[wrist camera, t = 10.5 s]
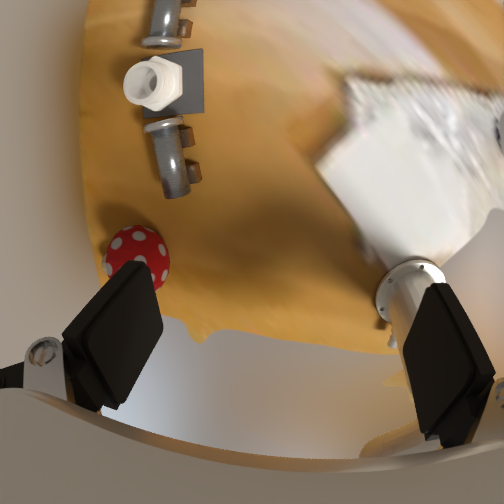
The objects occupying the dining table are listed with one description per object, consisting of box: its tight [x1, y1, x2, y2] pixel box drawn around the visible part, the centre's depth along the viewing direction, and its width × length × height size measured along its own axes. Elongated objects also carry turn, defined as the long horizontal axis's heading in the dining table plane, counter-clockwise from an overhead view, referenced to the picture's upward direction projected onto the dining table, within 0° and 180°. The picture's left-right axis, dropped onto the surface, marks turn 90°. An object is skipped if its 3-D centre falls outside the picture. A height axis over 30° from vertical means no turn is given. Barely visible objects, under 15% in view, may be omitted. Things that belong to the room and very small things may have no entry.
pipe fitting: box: [123, 56, 182, 111], centre depth 29 cm, size 6×7×8 cm
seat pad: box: [141, 49, 204, 119], centre depth 33 cm, size 9×9×1 cm
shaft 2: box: [143, 116, 202, 199], centre depth 35 cm, size 10×5×6 cm, turn 8°
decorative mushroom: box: [102, 225, 170, 292], centre depth 43 cm, size 11×11×15 cm
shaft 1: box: [140, 0, 197, 50], centre depth 26 cm, size 10×5×6 cm, turn 172°
